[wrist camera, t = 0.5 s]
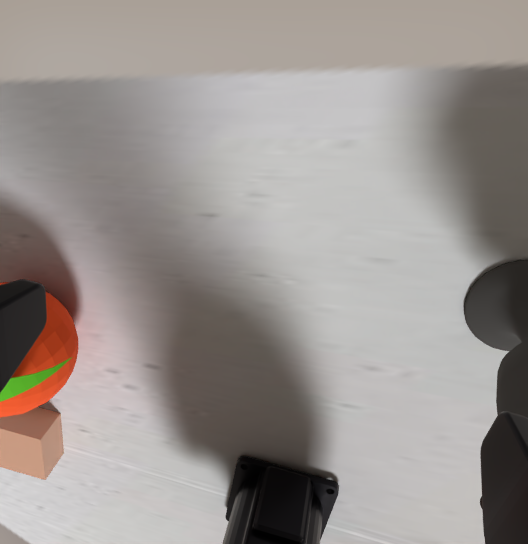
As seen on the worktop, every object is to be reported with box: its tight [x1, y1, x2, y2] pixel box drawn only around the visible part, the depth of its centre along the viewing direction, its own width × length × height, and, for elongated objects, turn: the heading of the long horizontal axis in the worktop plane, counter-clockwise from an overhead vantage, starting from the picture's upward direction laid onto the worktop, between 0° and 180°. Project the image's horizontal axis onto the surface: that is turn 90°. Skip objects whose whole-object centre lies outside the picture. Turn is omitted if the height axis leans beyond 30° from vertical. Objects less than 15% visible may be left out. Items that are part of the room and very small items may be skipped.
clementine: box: [0, 282, 78, 417], centre depth 26 cm, size 8×7×7 cm
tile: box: [0, 407, 64, 480], centre depth 33 cm, size 4×4×2 cm
